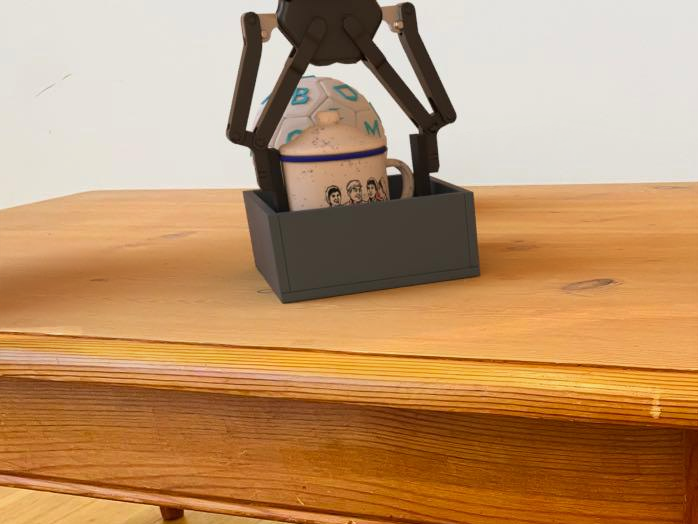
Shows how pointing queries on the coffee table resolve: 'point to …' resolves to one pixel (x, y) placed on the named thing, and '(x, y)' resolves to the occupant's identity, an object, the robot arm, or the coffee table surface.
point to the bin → (364, 242)
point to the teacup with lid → (337, 166)
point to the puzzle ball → (323, 97)
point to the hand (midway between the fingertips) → (356, 222)
